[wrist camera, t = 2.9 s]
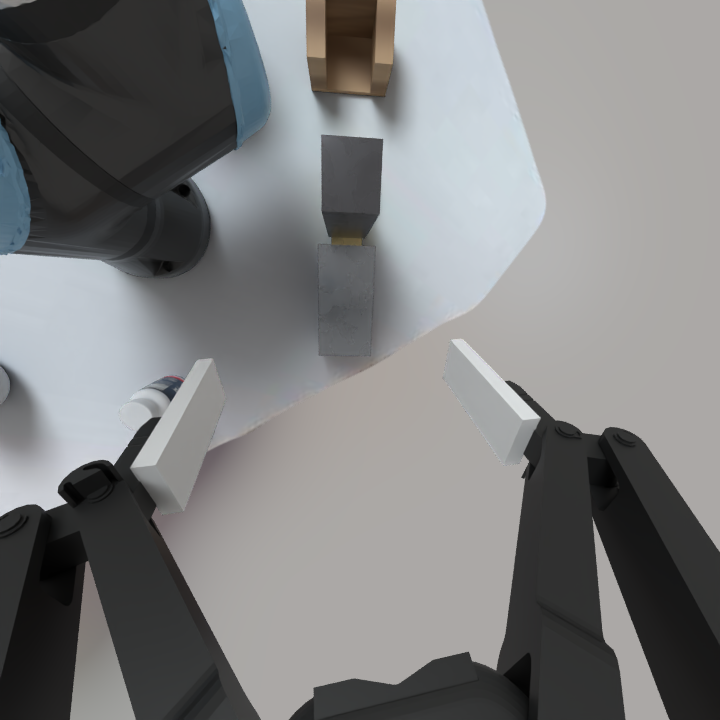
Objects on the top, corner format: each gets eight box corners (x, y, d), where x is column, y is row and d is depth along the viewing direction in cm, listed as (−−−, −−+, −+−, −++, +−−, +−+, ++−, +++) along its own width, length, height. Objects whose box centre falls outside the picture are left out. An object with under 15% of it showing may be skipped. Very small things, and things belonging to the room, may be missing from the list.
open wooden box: (384, 96, 35) (392, 64, 30) (311, 90, 34) (306, 56, 29) (387, 35, 33) (396, -11, 28) (311, 27, 33) (305, -21, 27)
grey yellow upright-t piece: (359, 341, 43) (371, 381, 26) (329, 340, 42) (322, 381, 26) (365, 158, 36) (386, 53, 19) (330, 155, 36) (321, 47, 19)
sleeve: (366, 346, 44) (370, 356, 38) (321, 346, 43) (318, 355, 38) (370, 250, 40) (375, 246, 35) (320, 248, 39) (318, 243, 34)
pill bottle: (194, 407, 45) (159, 437, 36) (159, 405, 44) (116, 435, 36) (192, 375, 43) (155, 399, 35) (156, 373, 43) (110, 396, 34)
